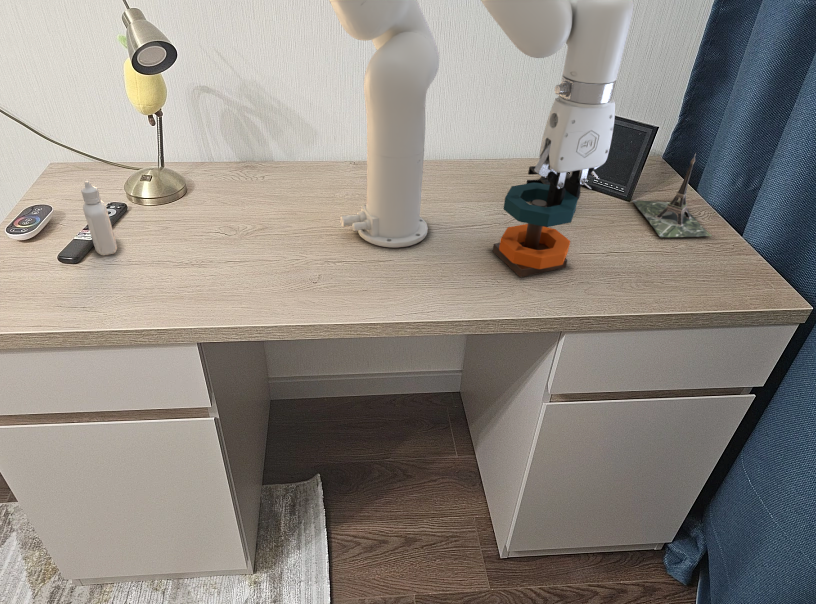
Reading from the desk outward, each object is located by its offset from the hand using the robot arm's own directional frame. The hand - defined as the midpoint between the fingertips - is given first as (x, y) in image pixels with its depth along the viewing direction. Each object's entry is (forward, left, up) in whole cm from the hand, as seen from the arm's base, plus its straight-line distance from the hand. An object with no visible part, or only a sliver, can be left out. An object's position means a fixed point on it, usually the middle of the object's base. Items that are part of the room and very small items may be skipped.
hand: (561, 205), depth 100 cm
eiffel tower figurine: (+30, +3, -10) cm, 31 cm away
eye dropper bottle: (-70, +28, -10) cm, 76 cm away
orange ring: (-4, 0, -8) cm, 9 cm away
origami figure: (+22, +23, -10) cm, 33 cm away
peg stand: (-4, 0, -9) cm, 10 cm away
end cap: (+12, +17, -10) cm, 23 cm away
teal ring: (-4, 0, 0) cm, 4 cm away
